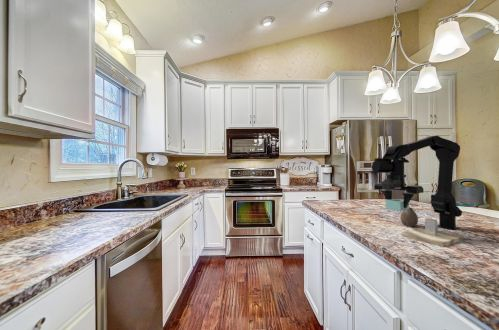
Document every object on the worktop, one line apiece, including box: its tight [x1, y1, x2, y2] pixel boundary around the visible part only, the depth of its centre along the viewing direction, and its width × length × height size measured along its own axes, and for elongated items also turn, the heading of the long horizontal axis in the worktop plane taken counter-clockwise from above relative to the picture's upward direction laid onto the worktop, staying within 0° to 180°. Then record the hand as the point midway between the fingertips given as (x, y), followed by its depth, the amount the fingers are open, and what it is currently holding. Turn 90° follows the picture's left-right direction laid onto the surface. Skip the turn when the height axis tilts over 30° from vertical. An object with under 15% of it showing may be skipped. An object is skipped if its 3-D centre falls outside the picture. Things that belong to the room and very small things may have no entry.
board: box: [401, 226, 464, 248], centre depth 88 cm, size 15×14×2 cm
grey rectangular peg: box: [424, 217, 438, 236], centre depth 88 cm, size 2×3×6 cm, turn 26°
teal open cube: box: [385, 198, 410, 212], centre depth 100 cm, size 6×6×4 cm
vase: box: [400, 206, 419, 228], centre depth 105 cm, size 7×7×9 cm
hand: (397, 206), depth 100 cm, fingers closed on teal open cube, 6 cm apart
